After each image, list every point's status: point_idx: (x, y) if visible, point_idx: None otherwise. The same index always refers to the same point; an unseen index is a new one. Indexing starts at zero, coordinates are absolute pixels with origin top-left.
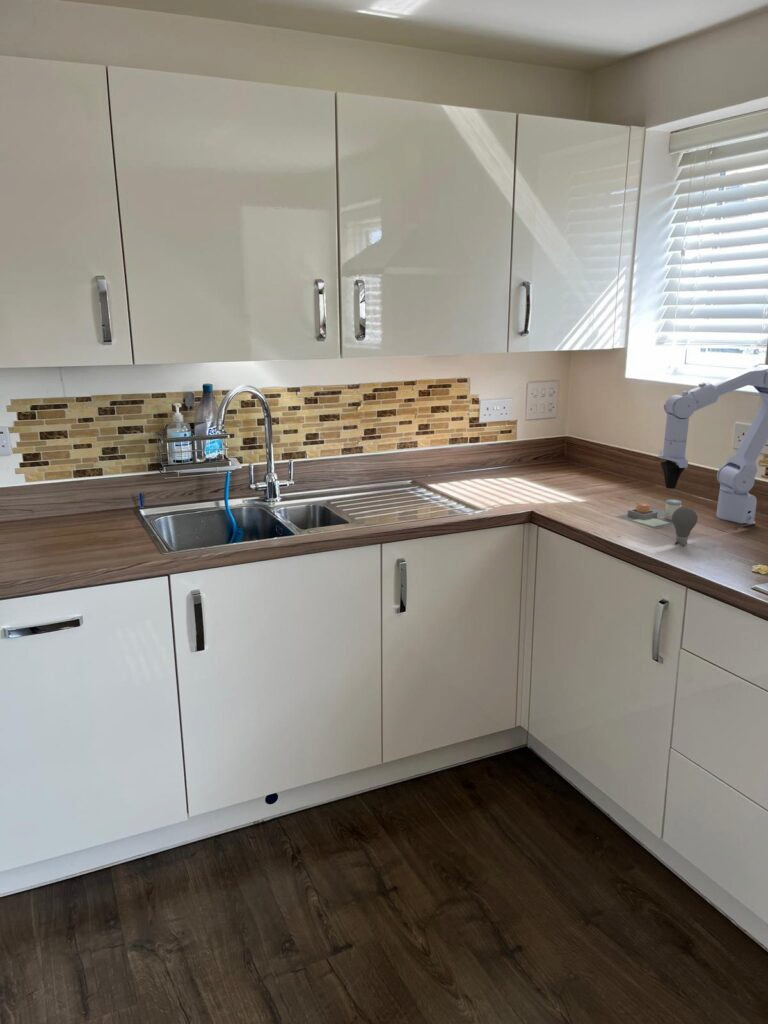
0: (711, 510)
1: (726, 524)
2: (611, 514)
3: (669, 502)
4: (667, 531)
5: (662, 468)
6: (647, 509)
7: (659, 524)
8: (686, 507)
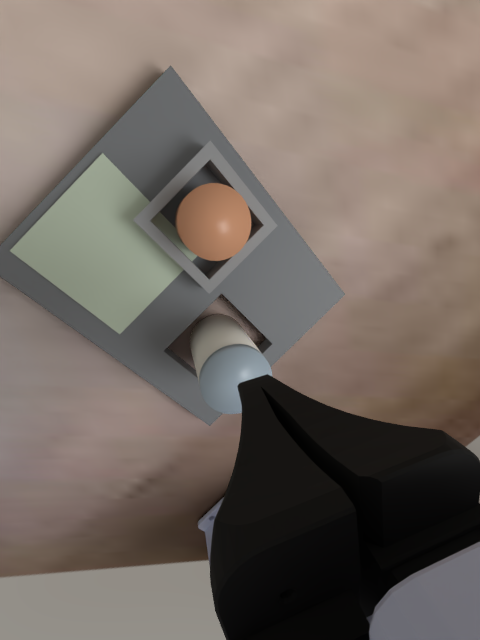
0: None
1: None
2: (285, 85)
3: (212, 360)
4: None
5: (380, 424)
6: (183, 242)
7: (68, 285)
8: None
